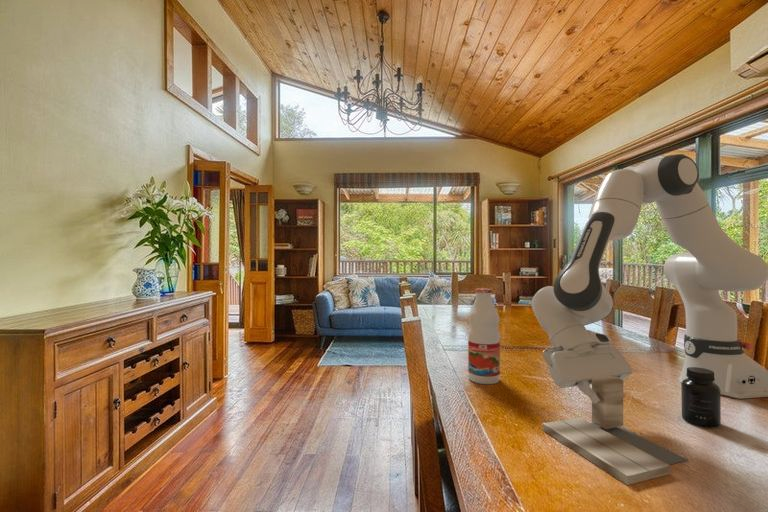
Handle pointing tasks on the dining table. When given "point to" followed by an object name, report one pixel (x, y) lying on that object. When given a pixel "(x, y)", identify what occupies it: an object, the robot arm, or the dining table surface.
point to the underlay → (645, 445)
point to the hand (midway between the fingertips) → (610, 400)
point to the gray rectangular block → (608, 402)
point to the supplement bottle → (701, 398)
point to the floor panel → (607, 450)
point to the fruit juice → (483, 340)
